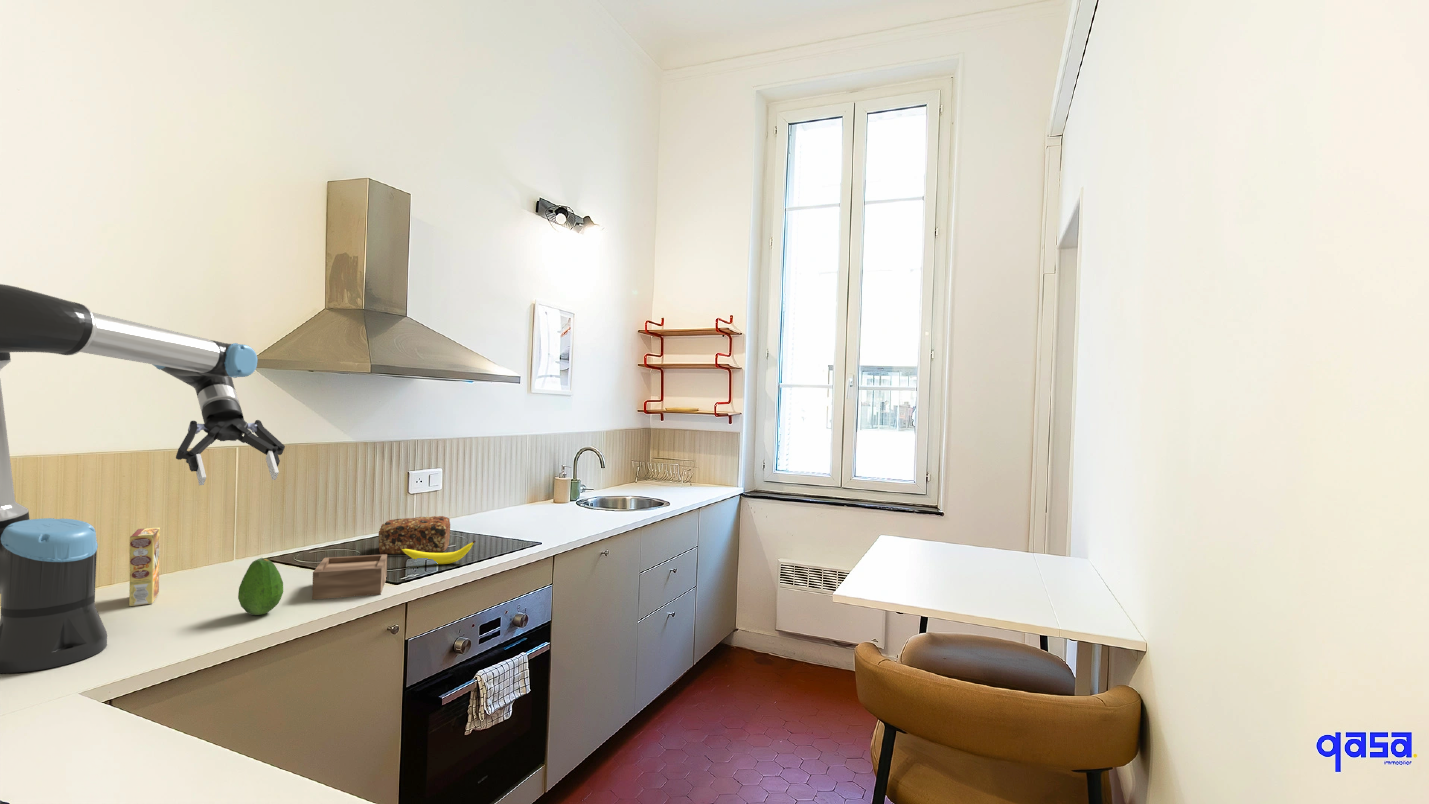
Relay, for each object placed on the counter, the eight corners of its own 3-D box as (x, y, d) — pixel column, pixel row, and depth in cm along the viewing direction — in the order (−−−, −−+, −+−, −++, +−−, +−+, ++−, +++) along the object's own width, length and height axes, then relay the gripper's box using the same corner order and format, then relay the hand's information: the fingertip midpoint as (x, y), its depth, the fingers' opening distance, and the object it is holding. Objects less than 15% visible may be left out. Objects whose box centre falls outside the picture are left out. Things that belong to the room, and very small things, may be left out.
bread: (450, 545, 206) (451, 513, 206) (444, 553, 195) (445, 520, 195) (386, 546, 201) (386, 514, 201) (376, 555, 191) (377, 521, 191)
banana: (401, 565, 180) (402, 542, 180) (474, 561, 187) (475, 539, 187) (400, 568, 178) (401, 545, 178) (475, 564, 184) (475, 541, 184)
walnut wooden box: (380, 594, 155) (381, 568, 155) (312, 599, 150) (312, 572, 150) (386, 578, 168) (387, 554, 168) (323, 582, 163) (324, 557, 163)
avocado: (249, 623, 134) (251, 564, 134) (230, 615, 138) (231, 558, 138) (290, 612, 141) (292, 556, 141) (271, 605, 145) (272, 551, 145)
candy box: (153, 604, 143) (154, 534, 143) (127, 607, 141) (129, 536, 141) (159, 593, 151) (161, 526, 150) (135, 596, 148) (136, 528, 148)
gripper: (277, 418, 166) (298, 484, 157) (149, 419, 147) (165, 494, 138) (285, 398, 163) (307, 464, 154) (155, 396, 144) (172, 472, 134)
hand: (240, 478), depth 146 cm, fingers open, 13 cm apart
